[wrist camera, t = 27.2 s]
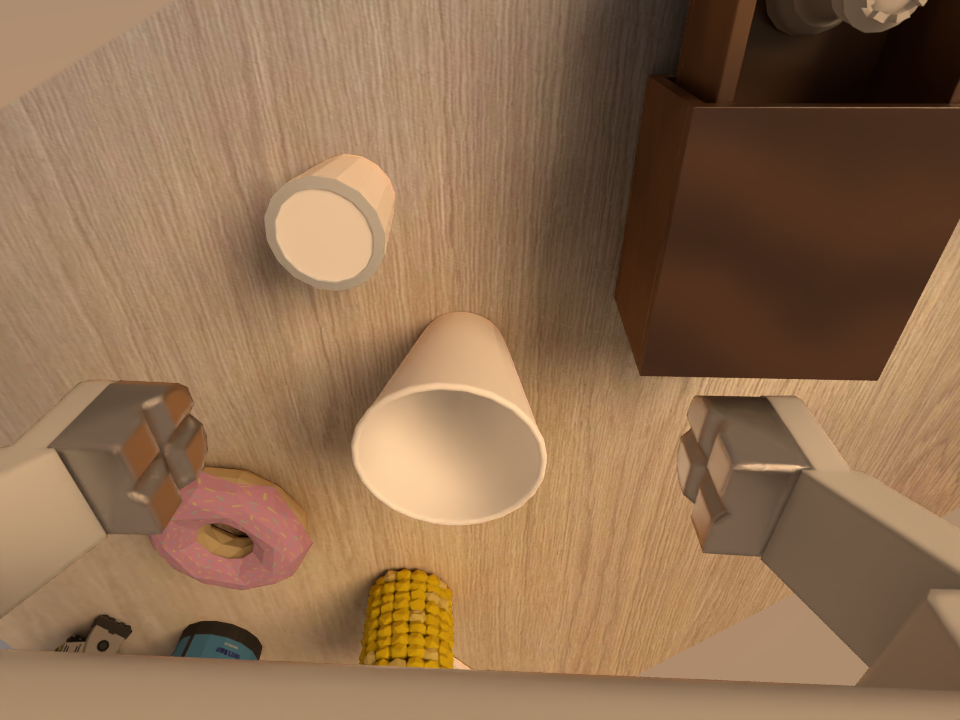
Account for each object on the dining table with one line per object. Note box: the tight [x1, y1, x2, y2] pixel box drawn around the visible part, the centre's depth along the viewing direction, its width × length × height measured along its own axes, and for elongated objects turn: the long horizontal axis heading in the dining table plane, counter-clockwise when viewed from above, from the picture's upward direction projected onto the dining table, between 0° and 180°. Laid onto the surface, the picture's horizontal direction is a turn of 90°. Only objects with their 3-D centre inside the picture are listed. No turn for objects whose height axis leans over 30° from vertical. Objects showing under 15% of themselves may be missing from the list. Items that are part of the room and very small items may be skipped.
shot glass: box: [264, 154, 395, 291], centre depth 34 cm, size 7×7×7 cm
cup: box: [351, 312, 547, 526], centre depth 38 cm, size 12×12×12 cm
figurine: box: [54, 615, 132, 654], centre depth 65 cm, size 9×12×15 cm
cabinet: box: [614, 75, 960, 381], centre depth 32 cm, size 15×14×10 cm
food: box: [359, 568, 454, 669], centre depth 57 cm, size 15×12×10 cm
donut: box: [147, 467, 312, 590], centre depth 54 cm, size 16×15×5 cm
